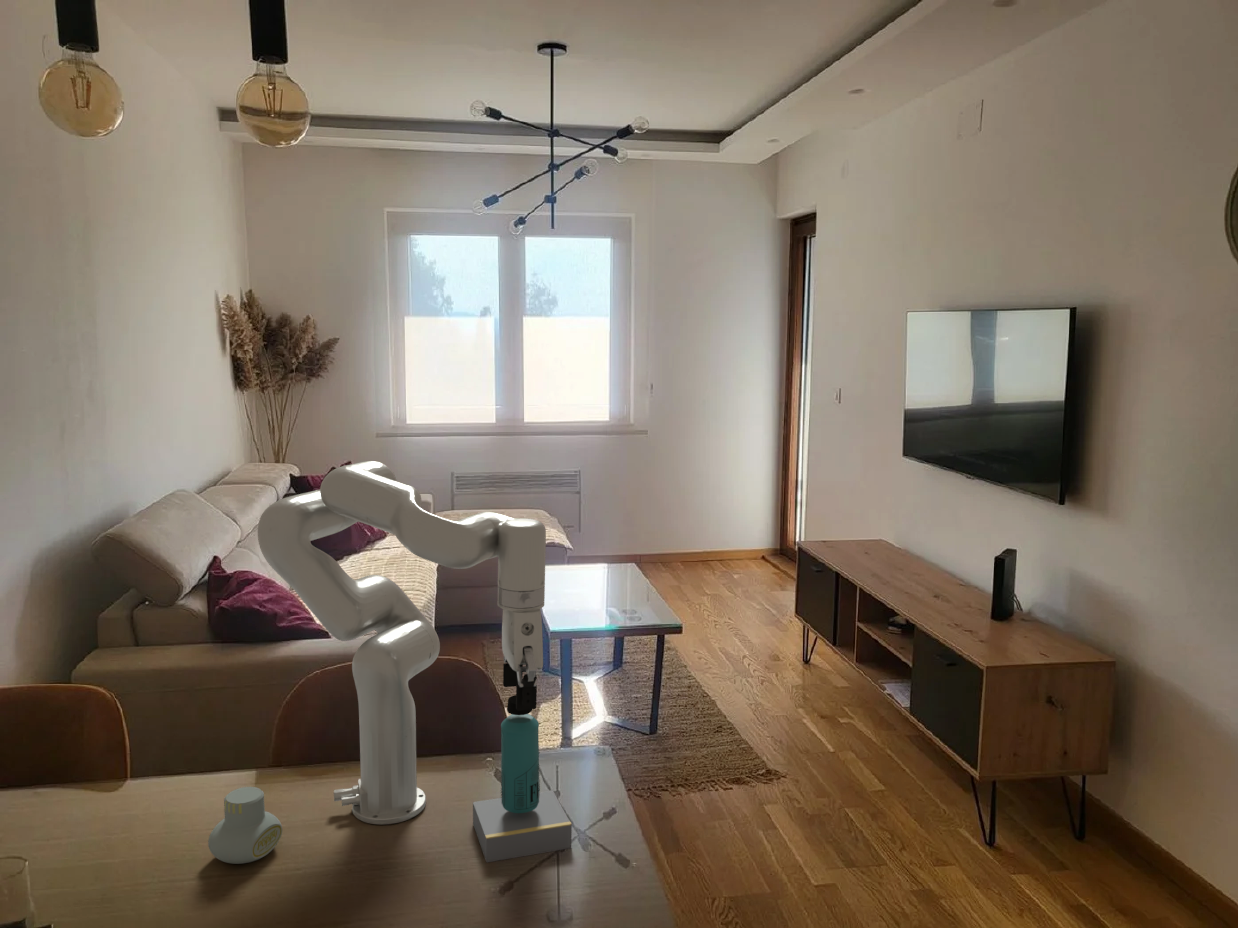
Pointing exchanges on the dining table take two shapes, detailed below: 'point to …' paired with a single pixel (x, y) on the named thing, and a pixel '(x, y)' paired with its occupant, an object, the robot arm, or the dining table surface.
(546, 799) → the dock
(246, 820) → the air freshener
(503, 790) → the beverage bottle
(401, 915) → the dining table surface
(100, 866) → the dining table surface
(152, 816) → the dining table surface
